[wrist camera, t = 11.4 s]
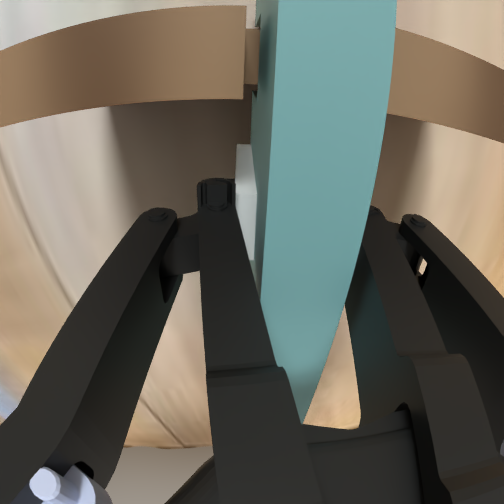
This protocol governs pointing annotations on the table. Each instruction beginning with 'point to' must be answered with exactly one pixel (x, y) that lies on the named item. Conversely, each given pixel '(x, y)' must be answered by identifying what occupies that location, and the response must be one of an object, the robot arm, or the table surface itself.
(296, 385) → the teal plate
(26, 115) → the walnut plate
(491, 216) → the table surface
